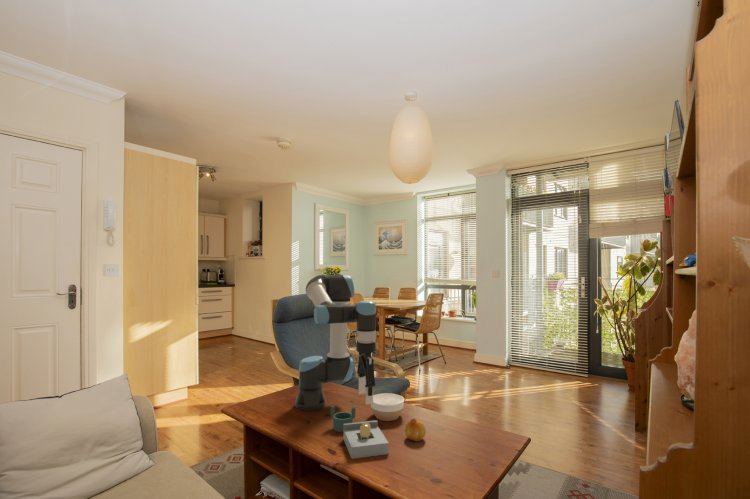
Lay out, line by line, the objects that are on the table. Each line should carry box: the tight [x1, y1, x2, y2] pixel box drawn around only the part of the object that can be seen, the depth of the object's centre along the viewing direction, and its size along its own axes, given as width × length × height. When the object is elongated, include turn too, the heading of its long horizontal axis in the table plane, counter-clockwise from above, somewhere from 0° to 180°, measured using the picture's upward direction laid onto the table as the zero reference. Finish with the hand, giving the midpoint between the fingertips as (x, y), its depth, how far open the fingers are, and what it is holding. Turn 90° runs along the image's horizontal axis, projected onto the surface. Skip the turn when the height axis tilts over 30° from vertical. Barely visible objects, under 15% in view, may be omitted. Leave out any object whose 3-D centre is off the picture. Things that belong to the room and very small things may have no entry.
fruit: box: [404, 418, 427, 442], centre depth 151 cm, size 8×8×8 cm
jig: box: [342, 420, 390, 460], centre depth 145 cm, size 16×14×6 cm
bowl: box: [370, 392, 405, 422], centre depth 174 cm, size 16×16×8 cm
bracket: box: [330, 405, 356, 433], centre depth 161 cm, size 9×9×9 cm
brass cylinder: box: [360, 423, 371, 440], centre depth 144 cm, size 4×4×8 cm
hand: (365, 398), depth 145 cm, fingers open, 11 cm apart
